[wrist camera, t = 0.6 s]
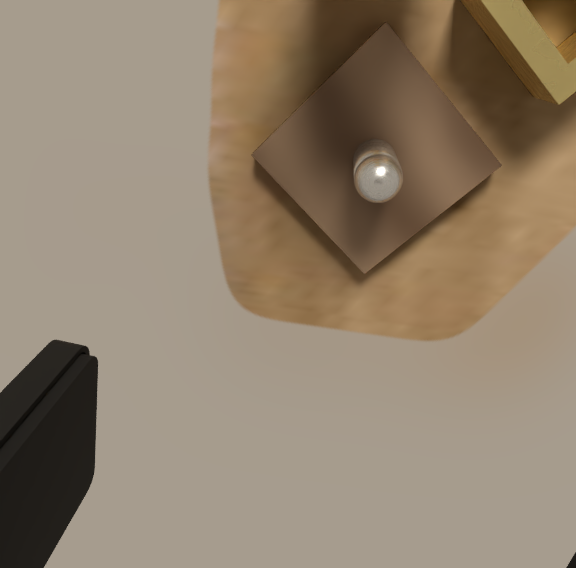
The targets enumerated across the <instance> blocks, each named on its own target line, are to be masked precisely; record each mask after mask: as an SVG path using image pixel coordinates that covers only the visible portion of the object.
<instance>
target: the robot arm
mask: <svg viewBox="0 0 576 568" xmlns="http://www.w3.org/2000/svg"><path fill="white" fill-rule="evenodd" d="M97 378H98V360H97V358H96V357H95V356H90V355H89V349H88V347H86V346H83V345H79V344H74V343H69V342H65V341H60V340H53V341H51V342H50V343H49V344H48V345H47V346H46V347H45V348H44V349H43V350H42V351H41V352H40V353H39V354H38V355H37V356H36V357H35V358H34V359H33V360H32V361H31V362H30V363H29V364H28V365H27V366H26V367H25V368H24V369H23V370H22V371H21V372H20V373H19V374H18V375H17V376H16V377H15V378H14V379H13V380H12V381H11V382H10V383H9V385H7V386H6V388H4V389H3V391H2V392H1V393H0V568H44V566H45V564H46V563H47V561H48V559H49V557H50V556H51V554H52V552H53V550H54V549H55V547H56V545H57V543H58V542H59V540H60V538H61V537H62V535H63V533H64V531H65V530H66V528H67V526H68V524H69V523H70V521H71V519H72V517H73V516H74V514H75V512H76V511H77V509H78V507H79V505H80V504H81V502H82V500H83V498H84V497H85V495H86V493H87V491H88V489H89V487H90V484H91V482H92V479H93V475H94V468H95V440H96V410H97ZM567 568H576V553H575V554H574V556H573V558H572V559H571V561H570V563H569V564H568V566H567Z"/></svg>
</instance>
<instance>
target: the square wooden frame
mask: <svg viewBox="0 0 576 568" xmlns="http://www.w3.org/2000/svg"><path fill="white" fill-rule="evenodd" d="M460 1H461V2H462V3H463V5H464V6H465V7H466V9H467V10H468V11H469V12H470V14H471V15H472V16H473V18H474V19H475V20H476V22H477V23H478V24H479V26H480V27H481V28H482V30H483V31H484V32H485V34H486V35H487V36H488V38H489V39H490V40H491V42H492V43H493V44H494V46H495V47H496V48H497V49H498V51H499V52H500V53H501V55H502V56H503V57H504V59H505V60H506V61H507V63H508V64H509V65H510V67H511V68H512V69H513V71H514V72H515V73H516V75H517V76H518V77H519V79H520V80H521V81H522V83H523V84H524V85H525V86H526V88H527V89H528V90H529V92H530V93H531V94H532V96H533V97H535V98H539V99H542V100H545V101H548V102H551V103H554V104H558V105H560V104H561V103H562V102H563V101H565V100H566V99H567V98H568V97H570V96H571V95H572V94H573V93H575V92H576V31H575V32H574V33H573V34H572V35H571V36H569V37H568V38H567V39H566V40H565V41H563V42H562V43H561V44H560V45H559V46H558V47H555V46H554V44H553V43H552V41H551V40H550V39H549V37H548V36H547V34H546V33H545V32H544V30H543V29H542V28H541V26H540V25H539V23H538V22H537V21H536V19H535V18H534V16H533V15H532V14H531V12H530V11H529V10H528V8H527V7H526V5H525V4H524V3H523V1H522V0H460Z"/></svg>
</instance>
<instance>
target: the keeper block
mask: <svg viewBox="0 0 576 568" xmlns="http://www.w3.org/2000/svg"><path fill="white" fill-rule="evenodd" d="M252 156H253V157H254V158H255V159H256V161H257V162H258V163H259V164H260V165H261V166H262V167H263V168H264V169H265V170H266V171H267V172H268V173H269V174H270V175H271V176H272V177H273V178H274V179H275V181H276V182H277V183H278V184H279V185H280V186H281V187H282V188H283V189H284V190H285V191H286V192H287V193H288V194H289V195H290V196H291V197H292V198H293V199H294V201H295V202H296V203H297V204H298V205H299V206H300V207H301V208H302V209H303V210H304V211H305V212H306V213H307V214H308V215H309V216H310V217H311V218H312V219H313V221H314V222H315V223H316V224H317V225H318V226H319V227H320V228H321V229H322V230H323V231H324V232H325V233H326V234H327V235H328V236H329V237H330V238H331V239H332V241H333V242H334V243H335V244H336V245H337V246H338V247H339V248H340V249H341V250H342V251H343V252H344V253H345V254H346V255H347V256H348V257H349V258H350V259H351V261H352V262H353V263H354V264H355V265H356V266H357V267H358V268H359V269H360V270H361V271H362V272H363V273H364V274H365V273H366V272H368V271H369V270H370V269H372V268H373V267H374V266H375V265H377V264H378V263H379V262H380V261H382V260H383V259H384V258H385V257H387V256H388V255H389V254H391V253H392V252H393V251H394V250H396V249H397V248H398V247H399V246H401V245H402V244H403V243H404V242H406V241H407V240H408V239H410V238H411V237H412V236H413V235H415V234H416V233H417V232H418V231H420V230H421V229H422V228H424V227H425V226H426V225H427V224H429V223H430V222H431V221H432V220H434V219H435V218H436V217H437V216H439V215H440V214H441V213H443V212H444V211H445V210H446V209H448V208H449V207H450V206H451V205H453V204H454V203H455V202H456V201H458V200H459V199H460V198H462V197H463V196H464V195H465V194H467V193H468V192H469V191H470V190H472V189H473V188H474V187H476V186H477V185H478V184H479V183H481V182H482V181H483V180H484V179H486V178H487V177H488V176H489V175H491V174H492V173H493V172H495V171H496V170H497V169H498V168H500V167H501V166H502V165H501V163H500V162H499V161H498V160H497V158H496V157H495V156H494V155H493V153H492V152H491V151H490V150H489V149H488V147H487V146H486V145H485V144H484V142H483V141H482V140H481V139H480V137H479V136H478V135H477V134H476V132H475V131H474V130H473V129H472V127H471V126H470V125H469V124H468V122H467V121H466V120H465V119H464V118H463V116H462V115H461V114H460V113H459V111H458V110H457V109H456V108H455V106H454V105H453V104H452V103H451V101H450V100H449V99H448V98H447V96H446V95H445V94H444V93H443V91H442V90H441V89H440V88H439V87H438V85H437V84H436V83H435V82H434V80H433V79H432V78H431V77H430V75H429V74H428V73H427V72H426V70H425V69H424V68H423V67H422V65H421V64H420V63H419V62H418V60H417V59H416V58H415V57H414V56H413V54H412V53H411V52H410V51H409V49H408V48H407V47H406V46H405V44H404V43H403V42H402V41H401V39H400V38H399V37H398V36H397V34H396V33H395V32H394V31H393V29H392V28H391V27H390V26H389V25H388V23H387V22H385V23H384V24H383V25H382V26H381V27H380V28H379V29H378V30H377V31H376V32H375V33H374V34H373V35H372V36H371V37H370V38H369V39H368V40H367V41H366V42H365V43H364V44H363V45H362V46H360V47H359V48H358V49H357V50H356V51H355V52H354V53H353V54H352V55H351V56H350V57H349V58H348V59H347V60H346V61H345V62H344V63H343V64H342V65H341V66H340V67H339V68H338V69H337V70H336V71H335V72H334V73H333V74H332V75H331V76H330V77H329V78H328V79H327V80H326V81H325V82H324V83H323V84H322V85H321V86H320V87H319V88H318V89H317V90H316V91H315V92H314V93H313V94H312V95H311V96H310V97H309V98H308V99H307V100H306V101H305V102H304V103H303V104H302V105H301V106H300V107H299V108H298V109H297V110H296V111H295V112H294V113H293V114H292V115H291V116H290V117H289V118H288V119H287V120H286V121H285V122H283V123H282V124H281V125H280V126H279V127H278V128H277V129H276V130H275V131H274V132H273V133H272V134H271V135H270V136H269V137H268V138H267V139H266V140H265V141H264V142H263V143H262V144H261V145H260V146H259V147H258V148H257V149H256V150H255V151H254V153H253V154H252Z"/></svg>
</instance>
